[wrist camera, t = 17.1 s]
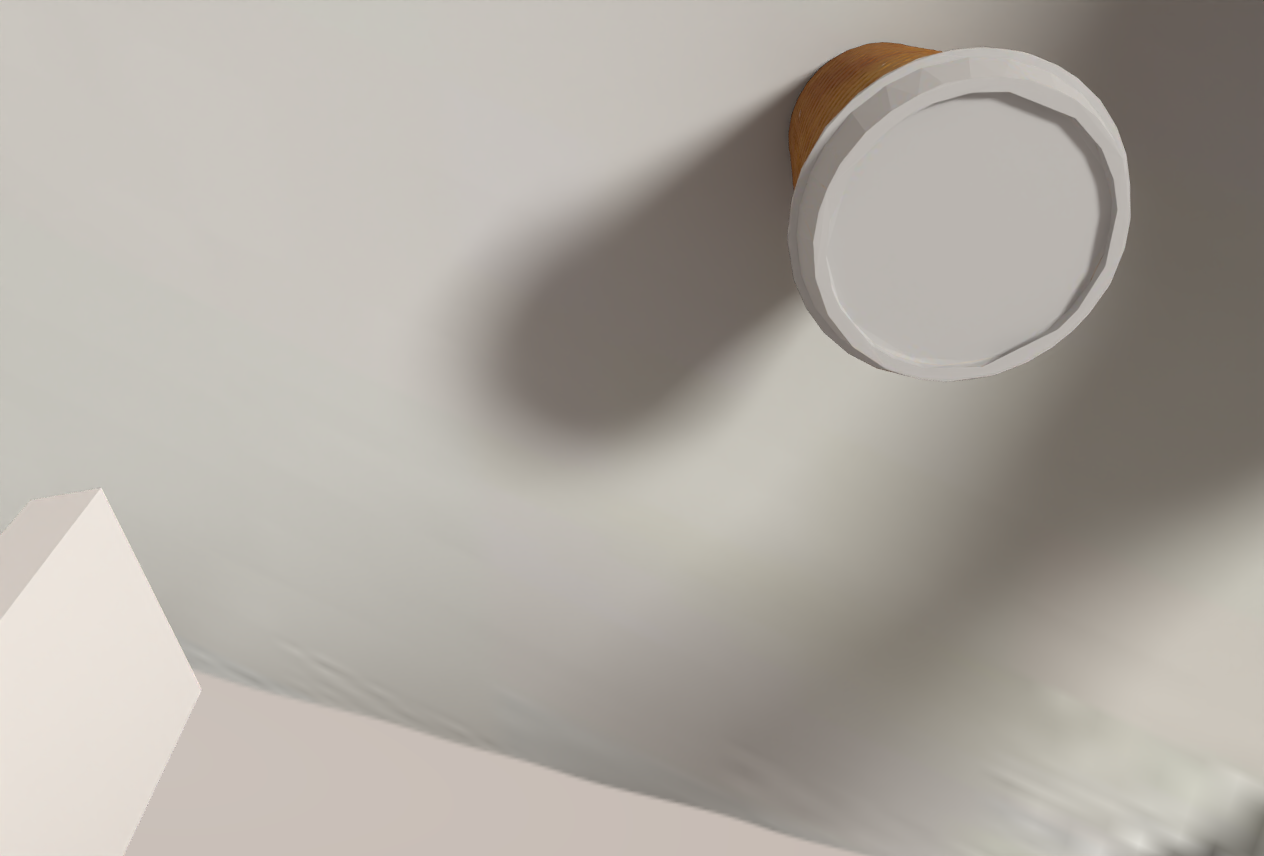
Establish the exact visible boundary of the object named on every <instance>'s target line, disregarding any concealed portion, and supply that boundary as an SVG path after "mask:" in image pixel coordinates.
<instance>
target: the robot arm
mask: <svg viewBox="0 0 1264 856" xmlns="http://www.w3.org/2000/svg"><path fill="white" fill-rule="evenodd" d="M201 691H202V689H201V687H200V685H199V683H198V681H197V679H196V677H195V675H194V673H193V671H192V669H191V667H190V665H189V663H188V661H187V659H186V657H185V655H184V653H183V651H182V649H181V647H180V645H179V643H178V641H177V639H176V637H175V635H174V633H173V631H172V629H171V627H170V625H169V623H168V621H167V619H166V617H165V615H164V613H163V611H162V609H161V607H160V605H159V603H158V601H157V599H156V597H155V595H154V592H153V590H152V588H151V586H150V584H149V582H148V580H147V578H146V576H145V574H144V572H143V570H142V568H141V566H140V564H139V562H138V560H137V558H136V556H135V554H134V552H133V550H132V548H131V546H130V544H129V542H128V540H127V538H126V536H125V534H124V532H123V530H122V528H121V526H120V524H119V522H118V520H117V518H116V516H115V514H114V512H113V510H112V508H111V506H110V504H109V502H108V500H107V498H106V496H105V494H104V492H103V490H102V488H96V489H91V490H85V491H79V492H74V493H68V494H62V495H56V496H51V497H45V498H39V499H34V500H30V501H29V502H28V503H27V505H26V506H25V507H24V508H23V509H22V511H21V512H20V513H19V514H18V515H17V516H16V518H15V519H14V520H13V521H12V522H11V523H10V525H9V526H8V527H7V528H6V529H5V531H4V532H3V533H2V534H1V535H0V856H124V854H125V852H126V850H127V848H128V846H129V844H130V842H131V839H132V837H133V835H134V833H135V831H136V829H137V827H138V824H139V822H140V820H141V818H142V816H143V814H144V812H145V810H146V808H147V806H148V803H149V801H150V799H151V797H152V795H153V793H154V791H155V788H156V786H157V784H158V782H159V780H160V778H161V776H162V774H163V772H164V769H165V767H166V765H167V763H168V761H169V759H170V757H171V754H172V752H173V750H174V748H175V746H176V744H177V742H178V739H179V738H180V735H181V733H182V731H183V729H184V727H185V725H186V723H187V721H188V718H189V716H190V714H191V712H192V710H193V708H194V706H195V704H196V702H197V699H198V697H199V695H200V693H201Z"/></svg>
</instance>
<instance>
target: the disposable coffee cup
mask: <svg viewBox="0 0 1264 856" xmlns="http://www.w3.org/2000/svg"><path fill="white" fill-rule="evenodd" d="M789 151H790V158H791V167H792V176H793V186H794V193H793V197H792V201H791V209H790V217H789V226H788V235H787V239H788V247H789V253H790V259H791V265H792V271H793V277H794V282H795V284H796V286H797V288H798V291H799V293H800V295H801V297H802V300H803V302H804V304H805V306H806V309H807V310H808V311H809V313H810V314H811V316H812V317H813V318H814V320H815V321H816V323H817V324H818V325H819V327H820V328H821V330H822V331H823V332H824V333H825V334H826V335H827V336H828V337H830V338H831V339H832V340H833V341H834V342H835V343H837V344H838V345H839V346H840V347H841V348H842V349H844V350H845V351H846V352H847V353H848V354H850V355H852V356H854V357H856V358H858V359H860V360H862V361H864V362H866V363H868V364H870V365H871V366H873V367H875V368H878V369H882V370H886V371H890V372H894V373H898V374H902V375H906V376H910V377H913V378H917V379H923V380H933V381H944V382H950V381H960V380H970V379H976V378H982V377H987V376H993V375H996V374H999V373H1002V372H1004V371H1007V370H1009V369H1012V368H1014V367H1017V366H1020V365H1022V364H1025V363H1027V362H1029V361H1030V360H1032V359H1034V358H1035V357H1037V356H1039V355H1040V354H1042V353H1044V352H1046V351H1047V350H1049V349H1051V348H1052V347H1054V346H1055V345H1056V344H1057V343H1059V342H1060V341H1061V340H1062V339H1063V338H1065V337H1066V336H1067V335H1068V334H1070V333H1071V332H1072V331H1073V330H1074V329H1075V328H1076V327H1077V326H1078V325H1079V324H1080V323H1081V322H1082V321H1083V320H1084V319H1085V318H1086V316H1087V315H1088V314H1089V313H1090V312H1091V311H1092V309H1093V308H1094V306H1095V305H1096V304H1097V302H1098V301H1099V299H1100V298H1101V296H1102V295H1103V294H1104V292H1105V291H1106V289H1107V288H1108V287H1109V285H1110V284H1111V281H1112V279H1113V276H1114V274H1115V271H1116V269H1117V267H1118V264H1119V262H1120V259H1121V257H1122V254H1123V252H1124V249H1125V245H1126V240H1127V235H1128V230H1129V224H1130V219H1131V210H1130V180H1129V171H1128V163H1127V155H1126V152H1125V149H1124V146H1123V143H1122V140H1121V137H1120V135H1119V132H1118V129H1117V127H1116V125H1115V123H1114V122H1113V120H1112V118H1111V117H1110V115H1109V113H1108V112H1107V110H1106V108H1105V107H1104V105H1103V103H1102V102H1101V100H1100V99H1099V98H1098V97H1097V96H1096V95H1095V94H1094V93H1093V92H1092V91H1091V90H1090V89H1088V88H1087V87H1086V86H1085V85H1084V84H1083V83H1082V82H1081V81H1080V80H1079V79H1078V78H1077V77H1075V76H1074V75H1072V74H1071V73H1069V72H1067V71H1066V70H1064V69H1063V68H1061V67H1060V66H1058V65H1056V64H1054V63H1051V62H1049V61H1046V60H1044V59H1042V58H1039V57H1037V56H1034V55H1032V54H1029V53H1025V52H1021V51H1015V50H1009V49H1000V48H990V47H977V48H965V49H953V50H949V51H945V52H942V51H935V50H930V49H924V48H918V47H912V46H907V45H903V44H896V43H883V42H881V43H871V44H866V45H863V46H860V47H857V48H854V49H850V50H847V51H846V52H844V53H842V54H840V55H839V56H837V57H835V58H833V59H832V60H830V61H829V62H828V63H826V64H825V65H824V66H823V67H821V68H820V69H819V70H818V71H817V72H816V73H815V75H814V76H813V77H812V78H811V79H810V80H809V81H808V83H807V84H806V86H805V87H804V89H803V91H802V92H801V94H800V96H799V97H798V99H797V102H796V105H795V107H794V110H793V113H792V116H791V121H790V127H789Z"/></svg>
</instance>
